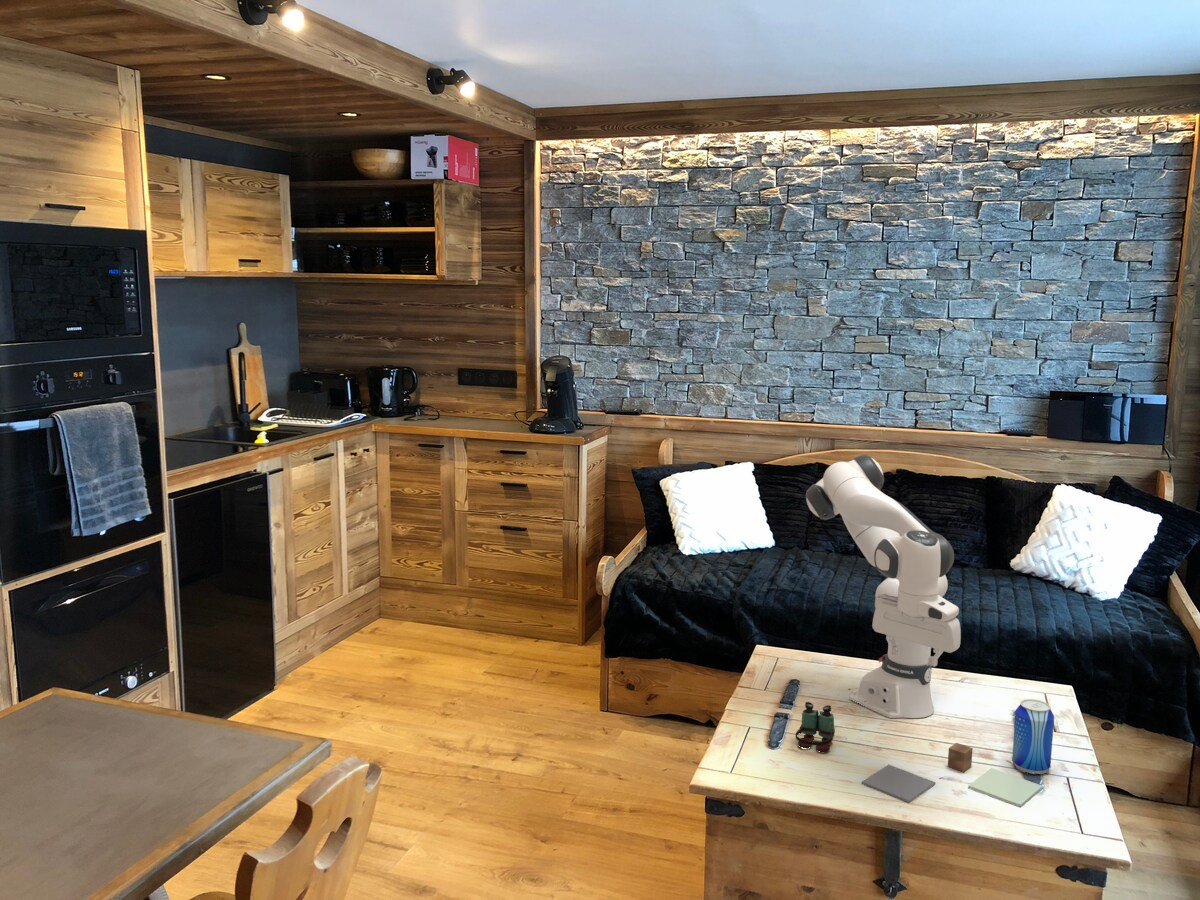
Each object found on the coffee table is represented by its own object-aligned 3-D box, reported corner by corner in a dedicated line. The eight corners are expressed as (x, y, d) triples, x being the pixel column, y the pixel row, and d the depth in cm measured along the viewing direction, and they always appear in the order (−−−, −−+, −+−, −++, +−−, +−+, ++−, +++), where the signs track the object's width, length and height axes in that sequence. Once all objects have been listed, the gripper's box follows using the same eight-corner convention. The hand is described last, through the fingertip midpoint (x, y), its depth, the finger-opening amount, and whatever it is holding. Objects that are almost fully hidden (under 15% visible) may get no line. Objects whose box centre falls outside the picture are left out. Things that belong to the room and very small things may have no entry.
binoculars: (793, 716, 238) (802, 697, 247) (793, 754, 241) (802, 734, 250) (829, 722, 235) (838, 703, 243) (829, 761, 237) (837, 740, 246)
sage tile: (968, 787, 223) (968, 785, 223) (991, 770, 231) (991, 767, 231) (1020, 807, 214) (1020, 804, 214) (1042, 788, 222) (1042, 786, 222)
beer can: (1054, 778, 227) (1059, 713, 225) (1015, 774, 229) (1020, 710, 226) (1045, 761, 235) (1049, 699, 233) (1008, 758, 237) (1012, 696, 235)
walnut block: (947, 767, 233) (948, 747, 232) (955, 762, 235) (956, 742, 235) (963, 773, 230) (964, 753, 229) (971, 767, 232) (972, 748, 232)
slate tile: (861, 783, 225) (861, 781, 225) (888, 766, 233) (888, 764, 233) (909, 803, 216) (909, 800, 216) (935, 784, 224) (935, 782, 224)
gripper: (869, 594, 227) (865, 650, 229) (953, 616, 213) (948, 675, 215) (882, 588, 231) (879, 643, 234) (966, 609, 217) (961, 668, 220)
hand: (913, 659), depth 224 cm, fingers open, 8 cm apart
